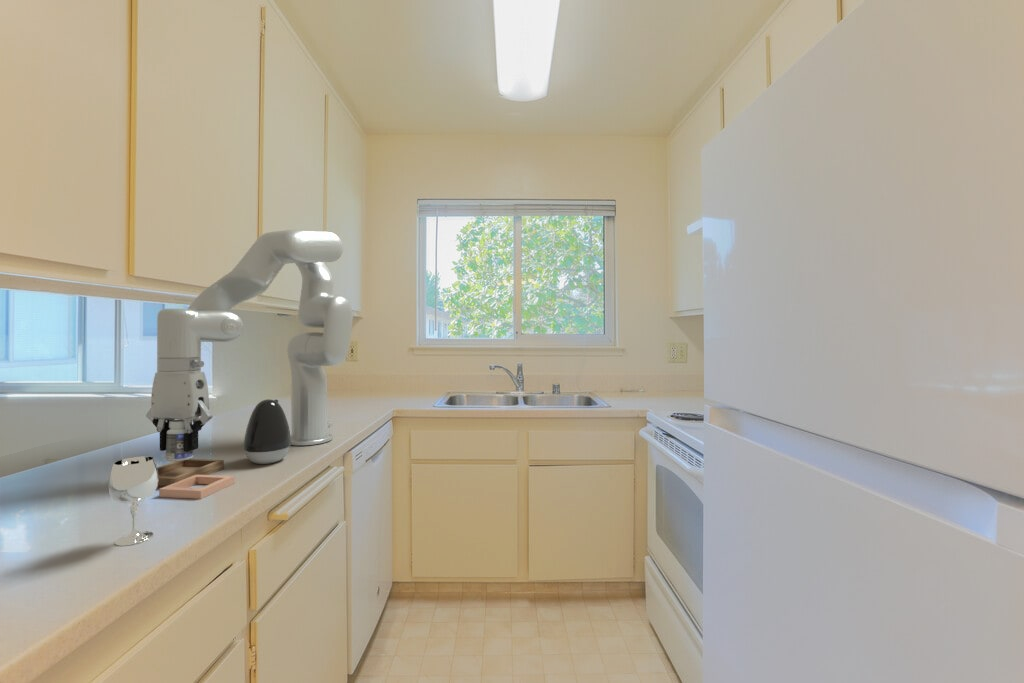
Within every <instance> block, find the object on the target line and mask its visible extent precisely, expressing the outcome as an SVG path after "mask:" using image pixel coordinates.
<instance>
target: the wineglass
mask: <svg viewBox="0 0 1024 683" xmlns="http://www.w3.org/2000/svg"><path fill="white" fill-rule="evenodd" d="M157 467H158V466H157V463H156V460H155V457H153V456H150V455H149V456H145V455H144V456H143V455H141V456H134V457H133V456H132V457H126V458H123V459H120V460H116V461H114V462H113V464H112V467H111V471H110V475H109V480H108V492H109V496H110V497H111V499H112V500H113V501H115V502H118V503H121V504H131V506H130V508H129V512H130V514H131V518H132V529H131V532H130V533H129V534H126V535H123V536H121V537H119V538H118V539H116V540H115V541H114V545H115V546H121V547H124V546H125V547H126V546H132V545H136V544H139V543H143V542H145V541H146V542H147V540H149V539H151V538H153V537H154V532H152V531H148V530H146V531H145V530H144V531H139V529H138V526H137V523H138V522H137V520H138V513H139V509H140V507H139V504H138V503H139V502H141V501H145V500H146V499H148V498H149V497H151V496H152V495H153V494H154V493H155V492H156V490H157V489H158V488H157V487H158V482H159V475H158V470H157Z"/></svg>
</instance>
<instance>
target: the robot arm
mask: <svg viewBox="0 0 1024 683" xmlns="http://www.w3.org/2000/svg"><path fill="white" fill-rule="evenodd" d="M343 252H344V244H343V241H342V240H341V238H340V237H339V236H338V234H336V233H334V232H331V231H328V230H305V229H304V230H302V229H301V230H300V229H286V230H277V231H269V232H265V233H263V234H261V235H260V236H259V237H258V238H257V239H256V240H255V241H254V243H253V244H252V245H251V246H250V248H249V249H248V250H247V252H246V253H244V255H243V257H242V258H241V259H240V260H239V261H238V263H237V264H236V265H235V267H234V268H233V269H232V270H231V271H229V272H228V273H227V274H225V275H223V276H222V277H220V278H219V279H218V280H216V282H213V283H212V284H211V285H210V286H208V287H207V288H205V289H204V290H203V291H202V292H201V293H199V294H198V295H197V297H196V298H195V299H194V300H193V302H191V304H190V305H189V306H188V308H162V309H161V310H159V311H158V312H157V317H156V319H157V320H156V322H157V323H156V324H157V325H156V327H157V328H156V372H155V373H154V376H153V380H152V381H153V382H152V386H151V387H152V388H151V397H150V399H151V400H150V409H149V410H148V412H147V413H146V414H145V416H146V418H147V419H149V421H150V422H152V424H153V425H154V426H155V428H156V432H157V433H159V451H160V452H166V437H167V431H168V430H170V428H169V421H172V420H180V419H183V420H184V424H185V428H186V432H187V433H184V440H183V450H184V452H189V451H192V450H193V451H196V450H198V449H199V432H200V431H201V430H202V428H203V427H204V426H205V425H206V424H207V423H208V422H209V421H210V420H211V419H213V417H214V416H213V414H212V413H211V411H210V398H209V397H210V396H209V386H208V382H207V378H206V374H205V372H204V371H202V368H203V367H204V366H205V362H204V361H203V360H202V348H201V347H202V343H229V342H232V341H234V340H237V338H239V337H240V336H241V335H242V333H243V331H244V322H243V321H242V318H241V317H240V316H239V315H237V313H235V312H233V311H230V310H231V309H232V308H235V306H237V305H239V304H241V303H244V302H245V301H248V300H251V299H254V298H256V297H258V296H259V295H262V294H264V293H265V292H266V291H267V289H269V287H270V286H271V285H272V283H273V282H274V280H275V278H276V277H277V275H278V274H279V273H280V271H281V270H282V269H283V268H284V266H285V265H287V264H295V265H296V267H297V269H298V270H299V272H300V275H301V282H302V283H301V290H300V297H299V305H298V310H297V311H298V314H297V315H298V320H299V323H300V324H301V325H302V326H304V327H306V328H311V329H323V330H322V331H323V332H320V331H317V332H315V331H308V332H307V331H306V332H301V333H298V334H295V335H294V336H292V337H291V338H290V340H289V341H288V344H287V350H286V351H287V357H288V361H289V365H290V366H289V367H290V368H289V369H290V377H291V380H290V381H291V382H290V383H291V384H290V385H291V387H290V388H291V389H290V392H291V393H290V394H291V395H290V398H291V399H290V401H291V402H290V403H291V404H290V405H291V407H290V408H291V412H290V414H291V415H290V420H291V422H290V425H291V428H290V435H291V445H290V446H314V445H319V444H325V443H328V442H330V441H332V440H333V438H334V437H333V436H334V435H333V433H331V432H328V429H330V428H332V427H333V422H332V421H328V377H327V374H326V370H325V369H324V367H336V366H339V365H342V364H343V363H344V362H345V361H346V359H347V357H348V355H349V353H350V352H349V351H350V347H351V346H350V345H351V337H352V328H353V320H354V312H353V308H352V305H351V303H350V302H349V300H348V299H347V298H346V297H344V296H341V295H334V294H333V293H334V278H333V275H332V273H331V271H330V269H329V268H328V266H327V265H326V263H333V262H335V261H338V260H339V259H340V258H341V257H342V256H343ZM191 420H192V422H191Z"/></svg>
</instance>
